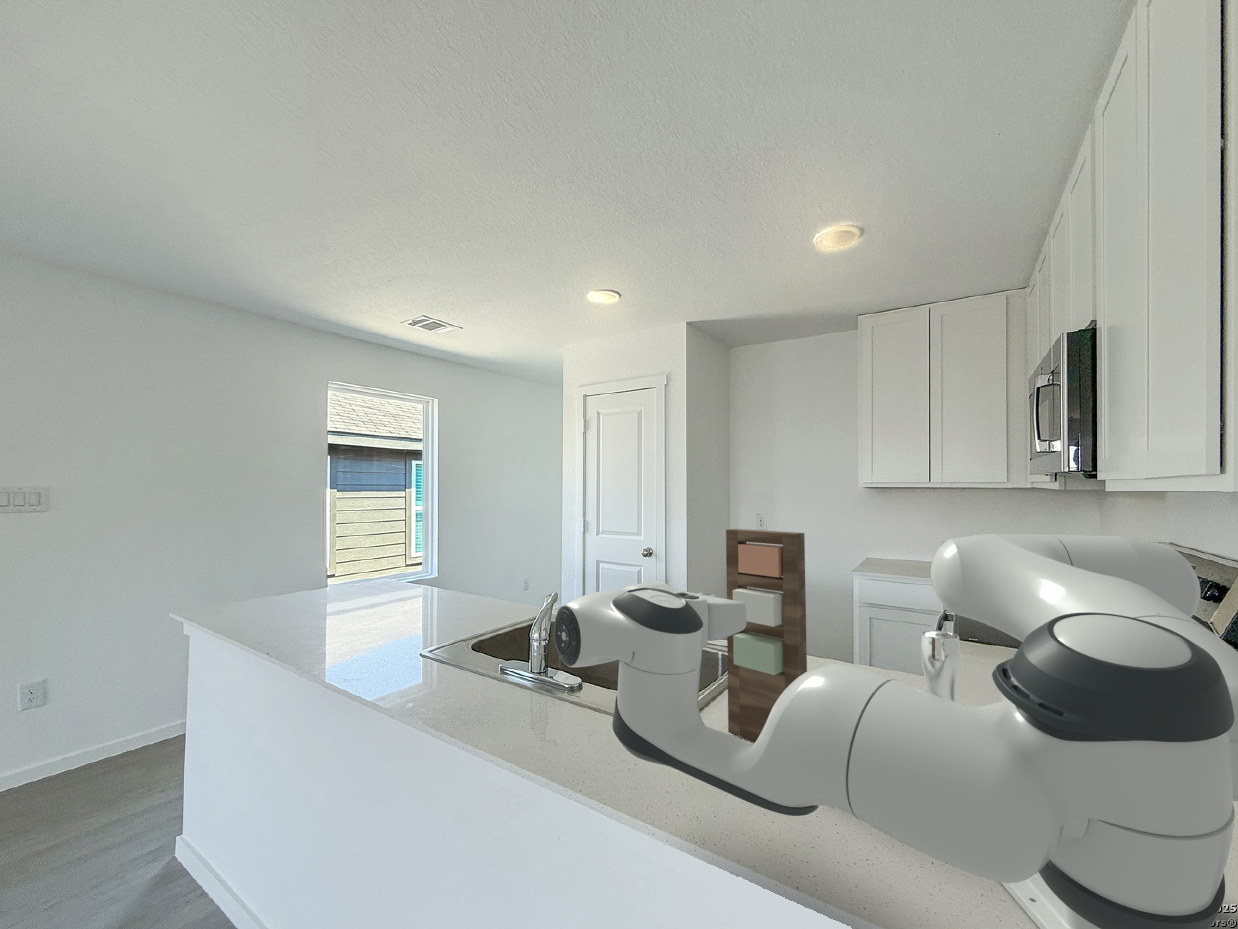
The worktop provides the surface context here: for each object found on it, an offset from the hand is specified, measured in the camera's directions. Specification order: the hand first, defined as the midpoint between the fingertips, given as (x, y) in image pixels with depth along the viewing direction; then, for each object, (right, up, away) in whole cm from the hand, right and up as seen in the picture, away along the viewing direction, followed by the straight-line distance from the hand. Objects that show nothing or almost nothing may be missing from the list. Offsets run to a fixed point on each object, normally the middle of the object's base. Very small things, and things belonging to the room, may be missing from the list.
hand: (710, 599), depth 84 cm
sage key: (+10, -14, +8) cm, 19 cm away
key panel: (+12, -27, +9) cm, 31 cm away
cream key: (+10, -6, +9) cm, 15 cm away
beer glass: (+51, -28, +22) cm, 62 cm away
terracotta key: (+11, +2, +10) cm, 16 cm away
